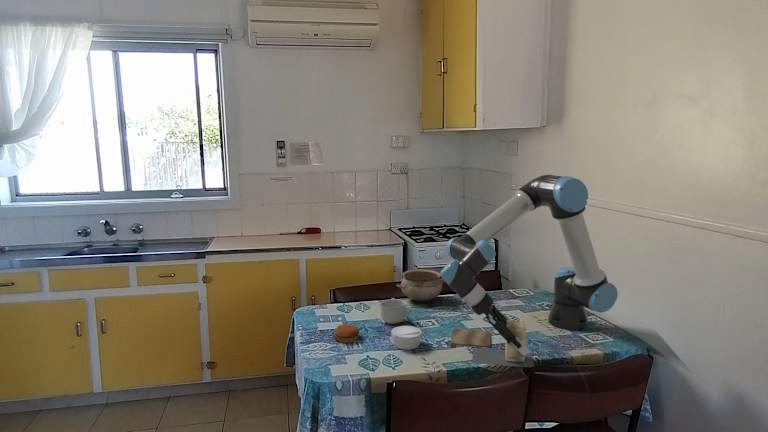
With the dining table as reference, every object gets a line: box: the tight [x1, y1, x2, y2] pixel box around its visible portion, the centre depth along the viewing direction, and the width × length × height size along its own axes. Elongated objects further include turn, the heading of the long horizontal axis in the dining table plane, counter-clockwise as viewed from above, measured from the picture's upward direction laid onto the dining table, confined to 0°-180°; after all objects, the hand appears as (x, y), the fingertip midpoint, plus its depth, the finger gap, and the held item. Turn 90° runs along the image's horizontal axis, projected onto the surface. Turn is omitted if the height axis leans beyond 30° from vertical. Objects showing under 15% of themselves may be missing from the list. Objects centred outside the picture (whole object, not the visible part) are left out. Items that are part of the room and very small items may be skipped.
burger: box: [333, 323, 360, 344], centre depth 195 cm, size 10×9×5 cm
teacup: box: [379, 297, 407, 325], centre depth 214 cm, size 14×11×8 cm
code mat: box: [471, 348, 535, 368], centre depth 176 cm, size 20×12×1 cm, turn 79°
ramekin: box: [390, 325, 423, 350], centre depth 189 cm, size 11×11×5 cm
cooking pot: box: [396, 269, 446, 303], centre depth 239 cm, size 25×19×12 cm
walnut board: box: [450, 328, 491, 348], centre depth 193 cm, size 14×14×2 cm
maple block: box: [504, 319, 527, 362], centre depth 175 cm, size 6×6×12 cm
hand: (526, 349), depth 174 cm, fingers closed on maple block, 6 cm apart
